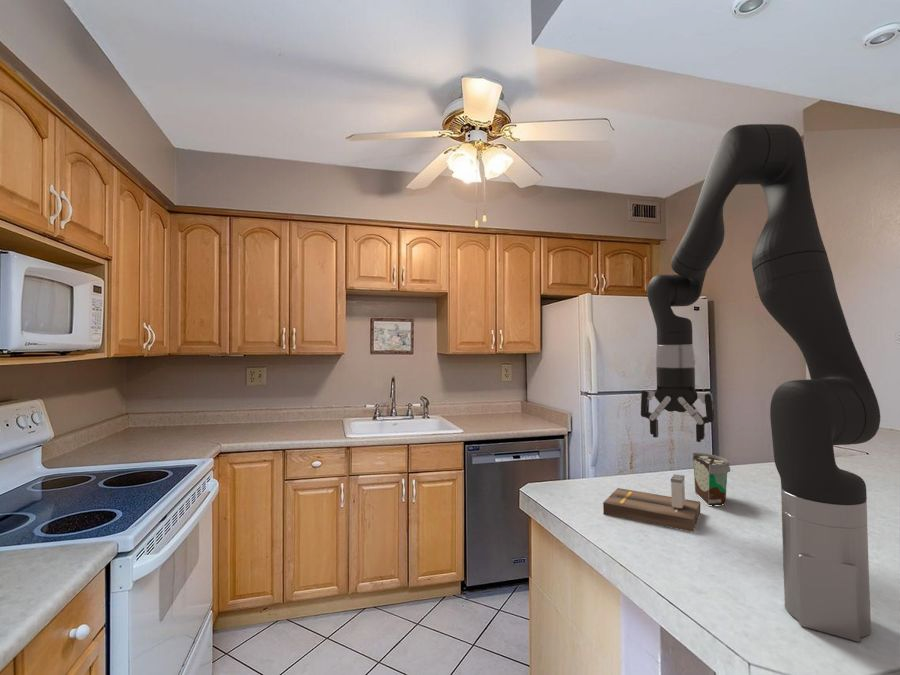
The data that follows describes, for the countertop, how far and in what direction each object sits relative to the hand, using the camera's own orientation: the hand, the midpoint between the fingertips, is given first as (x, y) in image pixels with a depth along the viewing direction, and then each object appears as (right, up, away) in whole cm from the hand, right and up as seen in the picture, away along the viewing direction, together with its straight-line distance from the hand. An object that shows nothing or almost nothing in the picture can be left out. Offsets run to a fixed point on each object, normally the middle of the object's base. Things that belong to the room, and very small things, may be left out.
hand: (676, 439), depth 97 cm
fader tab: (0, -14, 0) cm, 14 cm away
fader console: (-4, -18, +3) cm, 18 cm away
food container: (+15, -17, +10) cm, 25 cm away
